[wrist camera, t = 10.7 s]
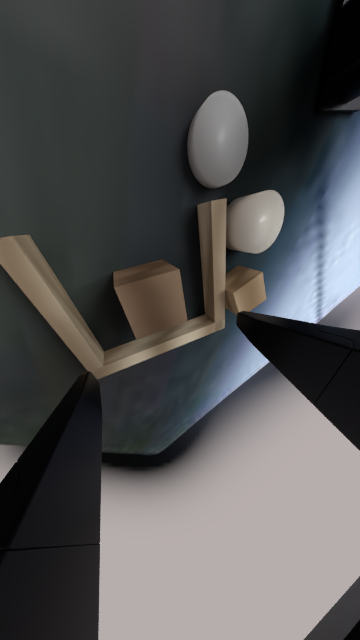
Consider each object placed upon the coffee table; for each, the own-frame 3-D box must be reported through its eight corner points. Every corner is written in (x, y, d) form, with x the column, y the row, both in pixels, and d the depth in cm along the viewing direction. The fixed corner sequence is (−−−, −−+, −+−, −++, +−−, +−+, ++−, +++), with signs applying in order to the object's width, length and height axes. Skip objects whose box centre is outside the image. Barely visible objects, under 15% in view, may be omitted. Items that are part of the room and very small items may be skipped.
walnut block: (161, 259, 16) (179, 269, 12) (170, 301, 18) (187, 321, 14) (113, 271, 14) (114, 287, 10) (130, 314, 17) (136, 340, 13)
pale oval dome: (258, 193, 16) (289, 186, 13) (253, 244, 19) (278, 247, 16) (218, 201, 15) (243, 194, 12) (219, 254, 18) (239, 258, 15)
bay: (210, 202, 15) (226, 198, 13) (214, 319, 22) (224, 327, 20) (5, 239, 11) (-19, 241, 9) (97, 364, 19) (95, 380, 17)
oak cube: (237, 265, 19) (262, 272, 16) (243, 289, 22) (266, 299, 19) (212, 282, 19) (233, 293, 16) (221, 304, 22) (240, 317, 19)
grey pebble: (237, 104, 12) (251, 91, 11) (234, 185, 15) (245, 181, 14) (181, 105, 11) (190, 89, 10) (189, 192, 14) (197, 189, 13)
